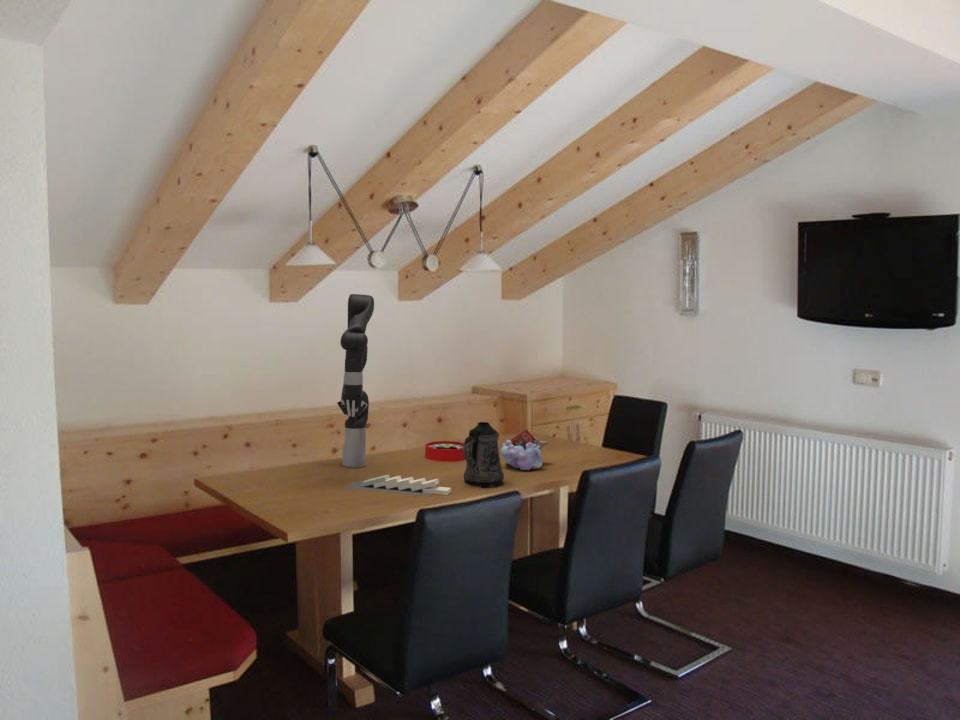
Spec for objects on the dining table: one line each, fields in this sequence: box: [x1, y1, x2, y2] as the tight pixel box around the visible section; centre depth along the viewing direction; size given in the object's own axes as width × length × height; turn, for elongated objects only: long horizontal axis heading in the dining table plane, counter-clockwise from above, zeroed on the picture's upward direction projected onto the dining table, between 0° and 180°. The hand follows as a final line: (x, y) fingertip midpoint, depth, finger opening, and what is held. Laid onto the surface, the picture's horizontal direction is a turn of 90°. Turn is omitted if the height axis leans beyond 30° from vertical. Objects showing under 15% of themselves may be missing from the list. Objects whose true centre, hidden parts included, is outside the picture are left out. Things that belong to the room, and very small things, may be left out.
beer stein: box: [463, 421, 505, 489], centre depth 332 cm, size 16×19×25 cm
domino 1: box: [362, 474, 391, 487], centre depth 322 cm, size 2×5×10 cm
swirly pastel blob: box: [499, 429, 550, 471], centre depth 365 cm, size 20×22×18 cm
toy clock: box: [424, 440, 466, 463], centre depth 381 cm, size 20×6×20 cm
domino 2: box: [373, 475, 403, 488], centre depth 321 cm, size 2×5×10 cm
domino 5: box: [411, 478, 440, 491], centre depth 317 cm, size 2×5×10 cm
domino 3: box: [385, 476, 415, 489], centre depth 319 cm, size 2×5×10 cm
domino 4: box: [398, 477, 427, 490], centre depth 318 cm, size 2×5×10 cm
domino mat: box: [344, 480, 432, 497], centre depth 321 cm, size 35×12×1 cm, turn 75°
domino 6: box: [423, 485, 452, 496], centre depth 316 cm, size 2×5×10 cm
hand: (352, 425), depth 326 cm, fingers closed
